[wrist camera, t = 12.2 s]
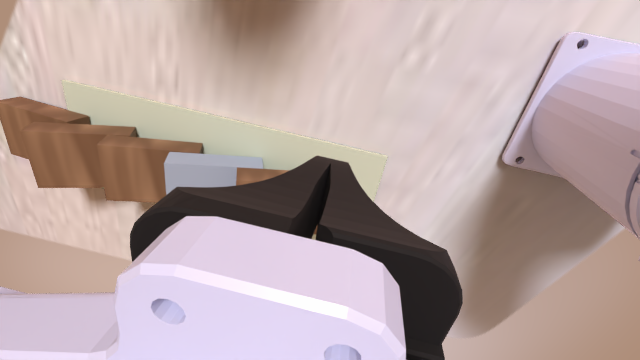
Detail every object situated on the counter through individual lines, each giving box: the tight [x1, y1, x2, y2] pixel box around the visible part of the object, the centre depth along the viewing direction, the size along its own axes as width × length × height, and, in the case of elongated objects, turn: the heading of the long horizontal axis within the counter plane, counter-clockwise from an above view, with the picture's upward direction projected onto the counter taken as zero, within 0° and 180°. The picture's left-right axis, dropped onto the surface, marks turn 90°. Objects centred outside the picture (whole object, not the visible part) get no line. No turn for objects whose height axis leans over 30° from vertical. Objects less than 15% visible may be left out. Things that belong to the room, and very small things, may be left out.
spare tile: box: [164, 152, 263, 195], centre depth 23 cm, size 2×4×6 cm
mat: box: [61, 80, 388, 240], centre depth 25 cm, size 25×9×1 cm, turn 80°
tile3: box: [97, 135, 203, 202], centre depth 23 cm, size 2×4×6 cm
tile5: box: [0, 97, 90, 159], centre depth 25 cm, size 2×4×6 cm
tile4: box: [20, 122, 137, 188], centre depth 23 cm, size 2×4×6 cm
